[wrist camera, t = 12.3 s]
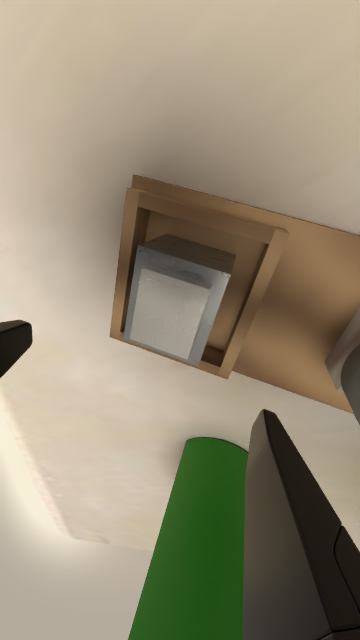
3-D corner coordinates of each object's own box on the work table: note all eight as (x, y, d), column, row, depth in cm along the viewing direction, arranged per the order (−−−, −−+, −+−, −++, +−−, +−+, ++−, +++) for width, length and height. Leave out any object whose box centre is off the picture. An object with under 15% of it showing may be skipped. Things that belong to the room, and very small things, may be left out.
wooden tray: (380, 414, 20) (409, 464, 17) (120, 322, 23) (93, 347, 19) (505, 275, 15) (593, 302, 11) (140, 176, 18) (108, 169, 14)
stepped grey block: (210, 329, 20) (195, 374, 15) (151, 309, 20) (117, 345, 15) (236, 254, 17) (229, 279, 12) (166, 233, 18) (131, 247, 12)
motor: (163, 446, 29) (29, 818, 12) (232, 427, 25) (183, 944, 8) (211, 502, 31) (157, 885, 14) (280, 493, 27) (327, 1010, 10)
